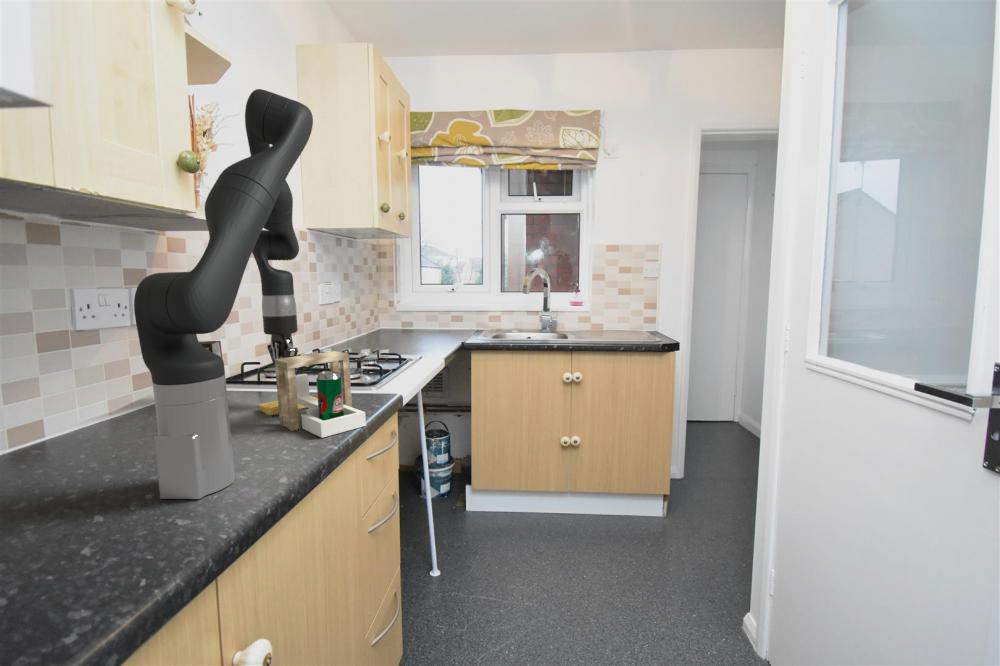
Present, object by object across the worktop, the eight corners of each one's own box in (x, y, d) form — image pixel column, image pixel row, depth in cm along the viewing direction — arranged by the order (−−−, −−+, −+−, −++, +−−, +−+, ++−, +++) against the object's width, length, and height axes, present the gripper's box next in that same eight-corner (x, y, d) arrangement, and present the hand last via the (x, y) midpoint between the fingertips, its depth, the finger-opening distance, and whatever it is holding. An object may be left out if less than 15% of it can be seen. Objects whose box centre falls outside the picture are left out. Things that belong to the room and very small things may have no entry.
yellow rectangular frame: (270, 416, 108) (269, 409, 108) (259, 411, 113) (258, 404, 113) (320, 405, 117) (319, 399, 117) (307, 400, 122) (307, 394, 122)
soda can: (339, 431, 97) (335, 375, 96) (315, 431, 98) (311, 375, 96) (348, 423, 102) (344, 370, 101) (325, 423, 103) (322, 370, 101)
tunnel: (292, 431, 98) (287, 362, 96) (279, 424, 102) (274, 359, 100) (352, 415, 108) (348, 353, 106) (338, 410, 112) (335, 350, 110)
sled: (321, 437, 93) (318, 394, 92) (278, 416, 108) (275, 378, 107) (366, 425, 100) (363, 384, 99) (319, 407, 115) (317, 371, 114)
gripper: (307, 313, 111) (311, 384, 113) (284, 311, 120) (288, 377, 122) (274, 316, 106) (280, 390, 108) (253, 313, 115) (258, 382, 117)
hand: (284, 383), depth 115 cm, fingers closed
